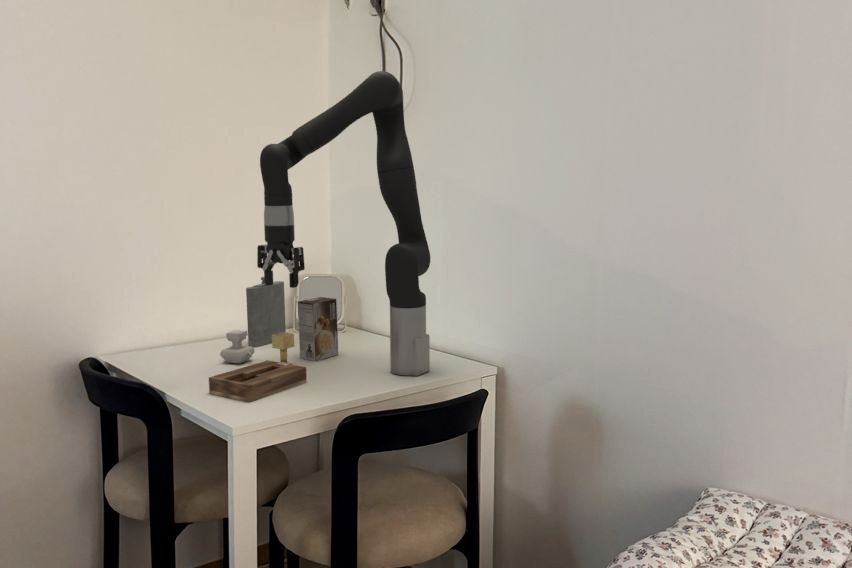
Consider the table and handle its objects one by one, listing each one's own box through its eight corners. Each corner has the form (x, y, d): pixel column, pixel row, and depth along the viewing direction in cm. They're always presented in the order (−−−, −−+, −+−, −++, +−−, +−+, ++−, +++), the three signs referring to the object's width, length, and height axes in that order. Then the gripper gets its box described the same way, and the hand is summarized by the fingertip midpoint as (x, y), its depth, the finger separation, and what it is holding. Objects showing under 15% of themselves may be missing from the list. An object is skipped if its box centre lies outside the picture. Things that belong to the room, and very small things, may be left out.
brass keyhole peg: (296, 367, 201) (294, 333, 200) (284, 370, 197) (283, 336, 196) (283, 364, 203) (282, 331, 202) (271, 368, 200) (270, 334, 198)
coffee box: (322, 352, 218) (321, 296, 215) (338, 355, 214) (337, 298, 211) (298, 358, 210) (297, 300, 208) (315, 361, 207) (313, 303, 204)
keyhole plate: (306, 382, 186) (306, 366, 186) (249, 402, 171) (248, 384, 170) (267, 374, 193) (267, 359, 193) (209, 393, 178) (208, 376, 177)
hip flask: (279, 336, 238) (277, 272, 235) (290, 337, 237) (288, 273, 234) (246, 347, 224) (243, 279, 221) (257, 348, 223) (254, 280, 220)
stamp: (216, 363, 205) (215, 333, 204) (230, 357, 211) (229, 328, 210) (245, 366, 202) (244, 335, 201) (258, 360, 208) (257, 330, 207)
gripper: (310, 223, 194) (311, 286, 197) (269, 221, 202) (271, 282, 204) (289, 225, 188) (291, 290, 190) (248, 223, 196) (250, 285, 198)
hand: (281, 286), depth 197 cm, fingers open, 8 cm apart
